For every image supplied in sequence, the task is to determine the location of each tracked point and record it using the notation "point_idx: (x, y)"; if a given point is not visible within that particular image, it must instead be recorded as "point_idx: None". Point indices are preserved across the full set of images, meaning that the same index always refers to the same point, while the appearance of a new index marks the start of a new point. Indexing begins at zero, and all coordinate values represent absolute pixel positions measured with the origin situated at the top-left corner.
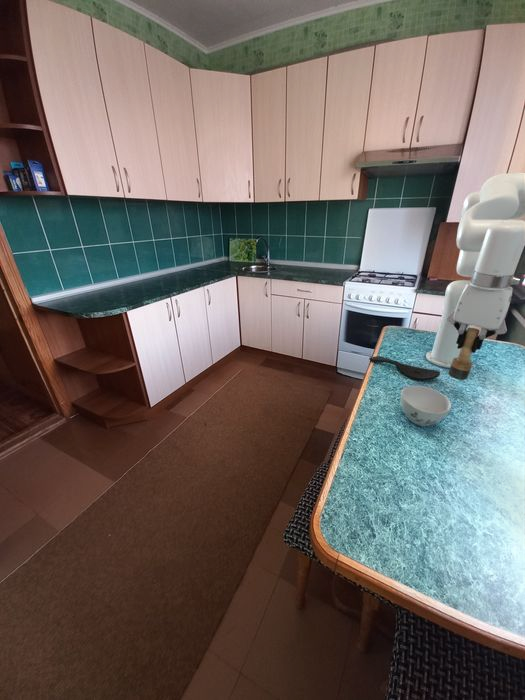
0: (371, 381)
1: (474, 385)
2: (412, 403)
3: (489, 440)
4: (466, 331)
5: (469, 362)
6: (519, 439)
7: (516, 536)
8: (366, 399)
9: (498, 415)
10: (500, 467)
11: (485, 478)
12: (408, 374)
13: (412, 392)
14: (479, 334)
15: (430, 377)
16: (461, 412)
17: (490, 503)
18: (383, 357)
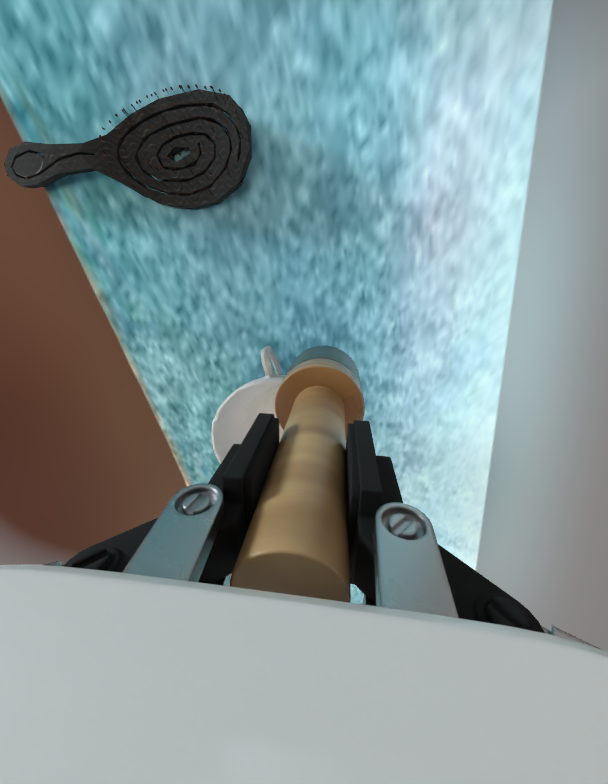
0: (120, 324)
1: (379, 57)
2: (253, 394)
3: (438, 384)
4: (237, 520)
5: (348, 399)
6: (507, 332)
7: (472, 567)
8: (165, 413)
9: (462, 243)
10: (458, 455)
11: (433, 495)
12: (167, 199)
13: (235, 398)
14: (358, 547)
15: (233, 186)
16: (366, 307)
17: (441, 537)
18: (33, 145)
